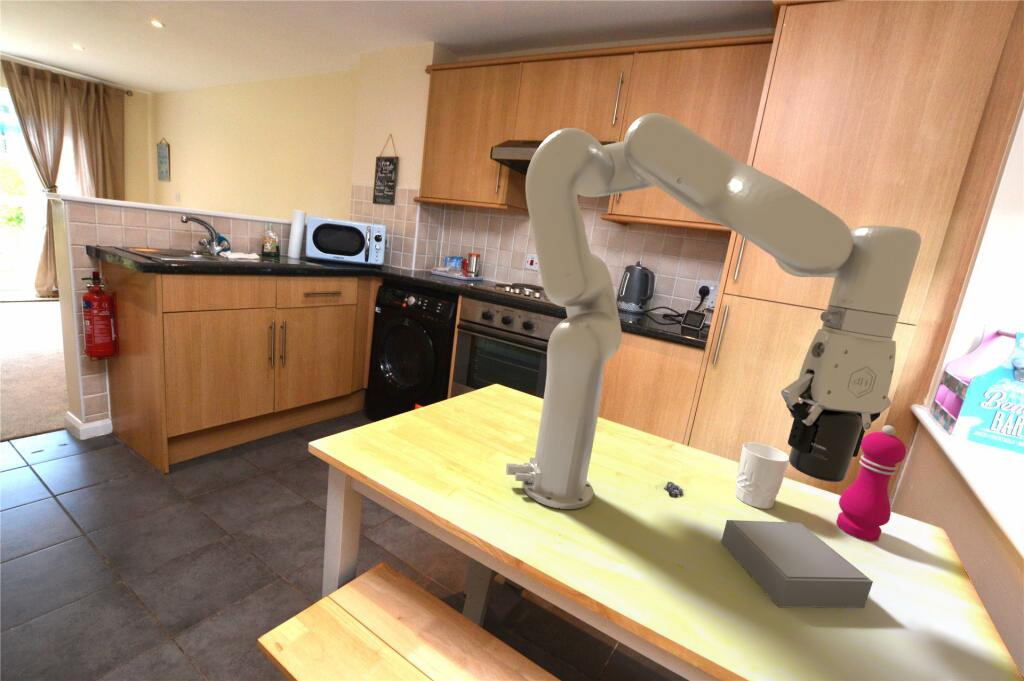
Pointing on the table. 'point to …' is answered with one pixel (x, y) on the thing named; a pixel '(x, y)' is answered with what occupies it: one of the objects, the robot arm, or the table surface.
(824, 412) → the supplement bottle
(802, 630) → the table surface
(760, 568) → the slate riser
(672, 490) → the blueberries
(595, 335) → the robot arm
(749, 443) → the white cup
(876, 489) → the pepper mill
